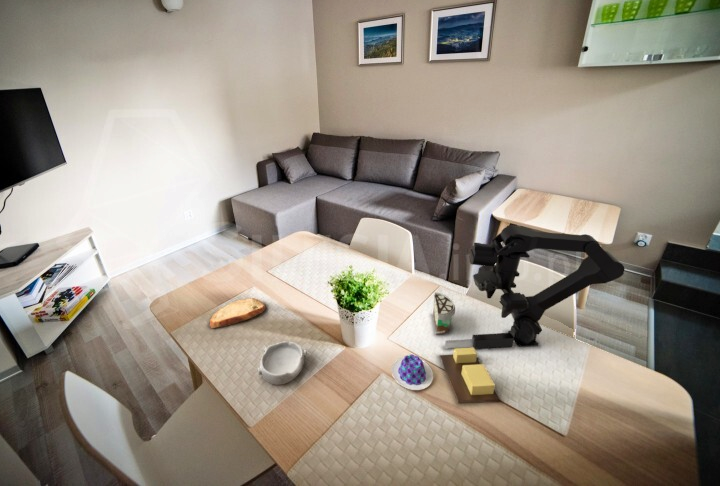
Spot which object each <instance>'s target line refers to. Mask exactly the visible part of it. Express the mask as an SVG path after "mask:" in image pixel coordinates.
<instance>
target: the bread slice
mask: <svg viewBox="0 0 720 486" xmlns="http://www.w3.org/2000/svg"><path fill="white" fill-rule="evenodd" d="M266 309H267V305H266V304H265V303H263V302H262V301H261V300H259V299H257V298H254V297H248V298H242V299H239V300H235V301H233V302H231V303H229V304H228V305H226V306H223V307H222V308H220V309H218V310H217V311H216V312H215V313H213V314H212V316H211V318H210V319H209V327H210V328H211V329H216V328H223V327H227V326H231V325H234V324H238V323H240V322H245V321H246V320H247V321H248V320H250V319H252V318H254V317H256V316H259V315H260V314H262V313H264V312H265V310H266Z"/></svg>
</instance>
